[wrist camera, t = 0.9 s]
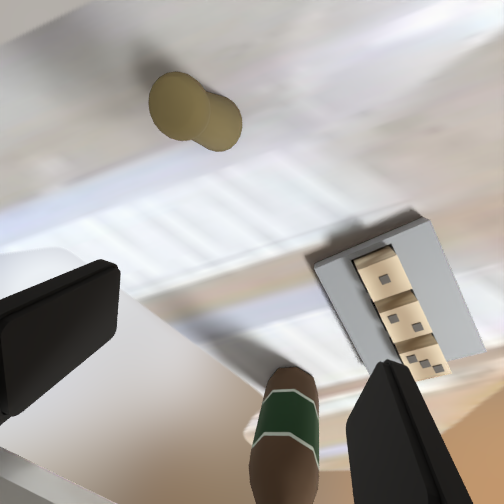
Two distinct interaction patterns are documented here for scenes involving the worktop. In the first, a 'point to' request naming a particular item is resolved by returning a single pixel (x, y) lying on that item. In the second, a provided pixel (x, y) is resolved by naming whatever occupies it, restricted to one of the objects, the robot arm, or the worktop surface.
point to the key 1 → (382, 273)
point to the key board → (424, 289)
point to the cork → (194, 112)
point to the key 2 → (403, 316)
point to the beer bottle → (286, 441)
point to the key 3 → (423, 357)
